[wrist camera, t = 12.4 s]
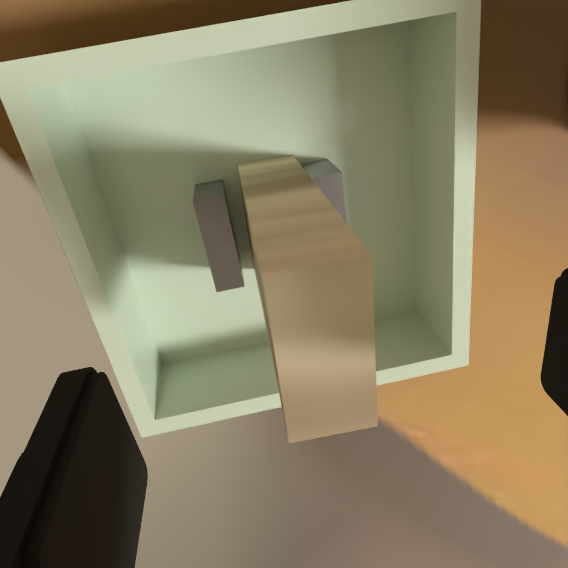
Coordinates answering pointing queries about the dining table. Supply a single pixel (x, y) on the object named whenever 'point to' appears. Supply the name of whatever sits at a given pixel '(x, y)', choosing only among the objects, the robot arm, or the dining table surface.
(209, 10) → the dining table surface
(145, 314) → the pale green prong tray
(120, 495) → the robot arm
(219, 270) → the wick clip
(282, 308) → the upright wooden plank
